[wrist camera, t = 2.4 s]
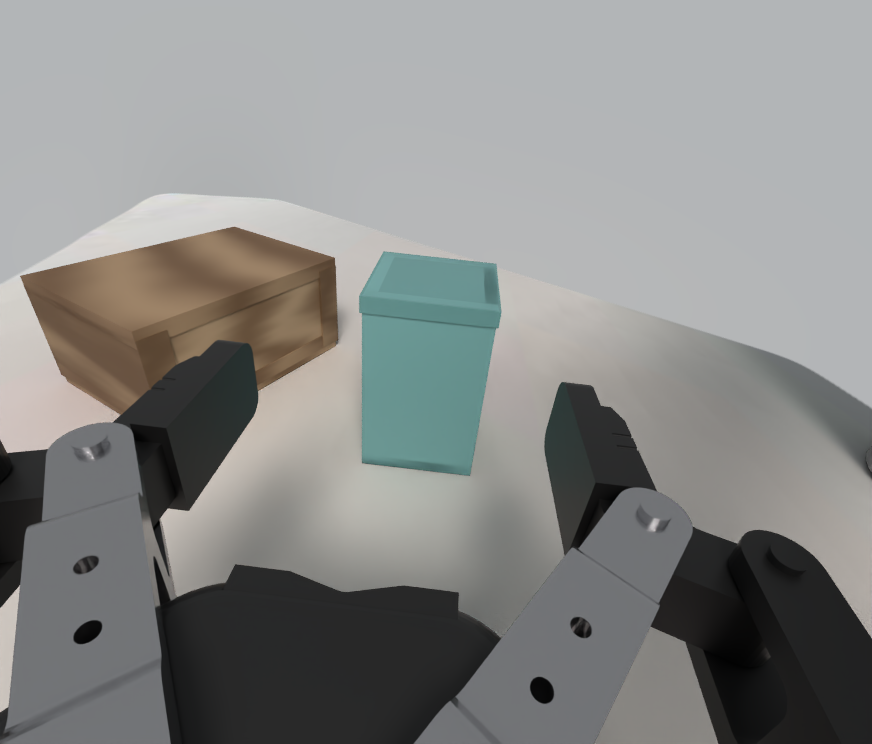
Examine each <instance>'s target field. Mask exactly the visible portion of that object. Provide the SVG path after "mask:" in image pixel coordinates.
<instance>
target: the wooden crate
mask: <svg viewBox="0 0 872 744" xmlns="http://www.w3.org/2000/svg"><path fill="white" fill-rule="evenodd" d="M20 277H21V279H22V281H23V284H24V287H25V289H26V292H27V294H28V297H29V299H30V301H31V304H32V306H33V308H34V311H35V313H36V315H37V318H38V320H39V323H40V325H41V327H42V330H43V332H44V334H45V337H46V339H47V341H48V344H49V346H50V349H51V351H52V353H53V356H54V358H55V360H56V363H57V365H58V367H59V370H60V372H61V375H63V376H65V377H66V379H67V381H68V382H69V383H71V384H73V385H74V386H76V387H77V388H79V389H81V390H82V391H84V392H85V393H87V394H89V395H90V396H92V397H93V398H95V399H97V400H98V401H100V402H101V403H103V404H105V405H106V406H108V407H109V408H111V409H113V410H114V411H116V412H117V413H119V414H121V415H122V414H123V413H124V412H125V411H126V410H127V409H128V408H129V407H130V406H131V405H132V404H134V403H135V402H136V401H137V400H138V399H139V398H140V397H141V396H142V395H143V394H144V393H146V392H147V391H148V390H151V388H152V386H153V385H154V384H155V383H157V382H158V381H159V380H162V377H163V376H164V375H165V374H166V373H167V372H169V371H170V370H171V369H172V368H173V367H174V366H175V365H177V364H179V363H181V362H183V361H185V360H187V359H189V358H191V357H194V356H200V355H201V354H202V353H204V352H205V351H206V350H207V349H208V348H209V347H210V346H211V345H212V344H213V343H214V342H215V341H217V340H226V341H234V342H242V343H248V344H250V346H251V348H252V351H253V357H254V365H255V373H256V380H257V388H258V390H260V389H262V388H263V387H265V386H267V385H269V384H270V383H272V382H274V381H275V380H277V379H279V378H281V377H282V376H284V375H286V374H288V373H289V372H291V371H293V370H294V369H296V368H298V367H300V366H301V365H303V364H305V363H307V362H308V361H310V360H312V359H313V358H315V357H317V356H319V355H320V354H322V353H324V352H326V351H327V350H329V349H331V348H332V347H334V346H336V341H337V340H338V325H337V294H336V266H335V258H334V257H330V256H327V255H324V254H321V253H317V252H314V251H311V250H308V249H304V248H301V247H298V246H295V245H292V244H288V243H285V242H282V241H279V240H275V239H272V238H269V237H266V236H263V235H259V234H256V233H253V232H250V231H246V230H243V229H240V228H237V227H231V228H226V229H222V230H218V231H213V232H209V233H205V234H200V235H196V236H192V237H187V238H183V239H178V240H174V241H170V242H165V243H161V244H157V245H152V246H148V247H144V248H139V249H135V250H131V251H126V252H122V253H118V254H113V255H109V256H105V257H100V258H96V259H92V260H87V261H83V262H79V263H74V264H70V265H66V266H61V267H57V268H53V269H48V270H44V271H40V272H35V273H31V274H27V275H22V276H20Z"/></svg>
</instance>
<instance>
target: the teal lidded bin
mask: <svg viewBox="0 0 872 744" xmlns="http://www.w3.org/2000/svg"><path fill="white" fill-rule="evenodd" d="M359 313H362V463H367V464H375V465H384V466H392V467H401V468H409V469H418V470H426V471H435V472H443V473H452V474H460V475H469V476H470V472H471V466H472V461H473V455H474V449H475V444H476V438H477V432H478V427H479V421H480V415H481V410H482V404H483V398H484V393H485V387H486V381H487V376H488V370H489V364H490V359H491V353H492V347H493V342H494V336H495V330H496V328H499V322H500V317H501V304H500V294H499V285H498V276H497V266H496V264H493V263H483V262H474V261H465V260H456V259H447V258H438V257H429V256H420V255H411V254H402V253H393V252H383V254H382V256H381V257H380V259H379V261H378V263H377V265H376V267H375V268H374V270H373V272H372V274H371V276H370V278H369V279H368V281H367V283H366V285H365V287H364V288H363V290H362V292H361V294H360V296H359Z"/></svg>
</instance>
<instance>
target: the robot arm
mask: <svg viewBox="0 0 872 744" xmlns="http://www.w3.org/2000/svg"><path fill="white" fill-rule="evenodd" d="M257 404H258V388H257V380H256V373H255V365H254V357H253V351H252V348H251V346H250V344H248V343H242V342H234V341H226V340H217V341H215V342H214V343H213V344H212V345H211V346H210V347H209V348H208V349H207V350H206V351H205V352H204V353H202V354H201V355H200V356H194V357H191V358H189V359H187V360H185V361H183V362H181V363H179V364H177V365H175V366H174V367H173V368H172V369H171V370H170V371H169V372H167V373H166V374H165V375H164V376H163V377H162V380H159V381H158V382H157V383H155V384H154V385H153V386H152V388H151V390H148V391H147V392H146V393H144V394H143V395H142V396H141V397H140V398H139V399H138V400H137V401H136V402H135V403H134V404H132V405H131V406H130V407H129V408H128V409H127V410H126V411H125V412H124V413H123V414H122V415H120V416H119V417H118V418H117V419H116V420H115V421H114V422H113V423H111V422H110V423H96V424H91V425H87V426H83V427H80V428H78V429H75V430H73V431H71V432H68V433H67V434H65V435H63V436H62V437H60V438H59V439H57V440H56V441H55V442H54V443H53V444H52V445H51V446H50V447H49V449H46V450H36V451H25V452H14V453H7V452H6V450H5V448H4V446H3V444H2V442H1V441H0V608H1V607H2V605H3V604H4V603H5V602H6V601H7V600H8V598H9V597H10V596H11V595H12V594H13V592H14V591H15V590H16V589H17V588H18V587H19V585H20V593H19V603H18V614H17V624H16V635H15V645H14V656H13V666H12V677H11V687H10V698H9V707H8V708H6V709H5V710H3V711H2V712H0V744H594V742H595V740H596V738H597V736H598V734H599V732H600V730H601V728H602V726H603V724H604V721H605V719H606V717H607V715H608V713H609V711H610V709H611V707H612V705H613V703H614V701H615V699H616V697H617V694H618V692H619V690H620V688H621V686H622V684H623V682H624V680H625V678H626V676H627V674H628V672H629V670H630V667H631V665H632V663H633V661H634V659H635V657H636V655H637V653H638V651H639V649H640V647H641V645H642V643H643V640H644V638H645V636H646V634H647V632H648V630H649V628H650V627H653V628H655V629H657V630H660V631H662V632H664V633H666V634H669V635H671V636H673V637H676V638H678V639H680V640H683V641H685V642H686V645H687V648H688V651H689V654H690V657H691V660H692V663H693V667H694V670H695V673H696V676H697V679H698V682H699V685H700V688H701V691H702V694H703V697H704V700H705V703H706V706H707V709H708V713H709V716H710V719H711V722H712V725H713V728H714V731H715V734H716V737H717V740H718V743H719V744H872V638H871V637H870V635H869V634H868V632H867V631H866V629H865V628H864V626H863V625H862V623H861V622H860V620H859V619H858V617H857V616H856V614H855V613H854V611H853V610H852V608H851V607H850V605H849V604H848V603H847V601H846V600H845V598H844V597H843V595H842V594H841V592H840V591H839V589H838V588H837V586H836V585H835V583H834V582H833V580H832V579H831V577H830V576H829V574H828V573H827V571H826V570H825V568H824V567H823V566H822V564H821V563H820V562H819V561H818V560H817V559H816V558H815V557H814V556H813V555H812V554H811V553H810V552H808V551H807V550H806V549H804V548H803V547H802V546H800V545H799V544H797V543H796V542H794V541H792V540H790V539H788V538H786V537H784V536H782V535H779V534H776V533H773V532H769V531H764V530H753V531H749V532H747V533H745V534H744V536H743V537H742V538H741V540H740V541H739V543H738V544H736V543H733V542H731V541H728V540H725V539H722V538H720V537H717V536H714V535H711V534H709V533H706V532H703V531H701V530H698V529H696V528H694V527H692V523H691V520H690V518H689V517H688V515H687V514H686V512H685V511H684V510H683V509H682V508H681V507H680V506H679V505H678V504H677V503H676V502H674V501H673V500H672V499H670V498H669V497H667V496H665V495H663V494H661V493H659V492H657V490H656V488H655V486H654V484H653V482H652V479H651V477H650V475H649V473H648V471H647V468H646V466H645V464H644V462H643V460H642V458H641V455H640V453H639V451H637V447H636V444H635V442H634V440H633V438H631V433H630V431H629V429H628V427H627V425H626V422H625V421H624V420H623V419H622V418H621V417H620V416H619V415H618V414H617V413H616V412H615V411H614V410H613V409H612V408H611V407H604V406H601V405H600V403H599V400H598V398H597V395H596V393H595V390H594V388H593V387H592V386H591V385H583V384H574V383H566V382H562V383H561V384H560V386H559V388H558V391H557V394H556V398H555V401H554V405H553V408H552V412H551V415H550V419H549V422H548V426H547V429H546V434H545V446H544V447H545V456H546V461H547V467H548V472H549V477H550V482H551V487H552V492H553V497H554V502H555V508H556V513H557V518H558V523H559V528H560V533H561V538H562V544H563V549H564V554H565V557H564V558H563V559H562V560H561V562H560V563H559V564H558V566H557V567H556V568H555V570H554V571H553V572H552V573H551V575H550V576H549V577H548V579H547V580H546V581H545V583H544V584H543V585H542V586H541V588H540V589H539V590H538V592H537V593H536V594H535V596H534V597H533V598H532V600H531V601H530V602H529V603H528V605H527V606H526V607H525V609H524V610H523V611H522V613H521V614H520V615H519V616H518V618H517V619H516V620H515V622H514V623H513V624H512V626H511V627H510V628H509V629H508V631H507V632H506V633H505V635H504V636H503V637H502V639H501V638H500V637H499V636H498V635H497V634H496V633H495V632H493V631H492V630H491V629H490V628H488V627H487V626H485V625H484V624H483V623H481V622H480V621H478V620H476V619H474V618H472V617H471V616H469V615H467V614H464V613H462V612H460V611H458V597H459V593H458V592H450V591H442V590H434V589H426V588H419V587H411V586H396V587H388V588H379V589H371V590H362V591H354V592H341V591H337V590H335V589H332V588H330V587H328V586H325V585H323V584H320V583H318V582H315V581H313V580H310V579H308V578H305V577H303V576H300V575H298V574H295V573H293V572H290V571H284V570H276V569H268V568H260V567H252V566H244V565H236V564H235V566H234V568H233V570H232V572H231V574H230V576H229V578H228V580H227V582H226V583H220V584H215V585H211V586H206V587H203V588H200V589H197V590H194V591H191V592H188V593H186V594H184V595H181V596H179V597H176V593H175V588H174V583H173V578H172V572H171V567H170V562H169V557H168V551H167V546H166V541H165V535H164V530H163V526H162V522H161V519H160V518H161V517H162V515H163V514H164V512H165V511H166V510H167V508H170V509H178V510H186V511H189V510H190V508H191V507H192V506H193V504H194V503H195V501H196V500H197V498H198V497H199V495H200V494H201V492H202V491H203V489H204V488H205V486H206V485H207V484H208V482H209V481H210V479H211V478H212V476H213V475H214V473H215V472H216V470H217V469H218V467H219V466H220V464H221V463H222V462H223V460H224V459H225V457H226V456H227V454H228V453H229V451H230V450H231V448H232V447H233V445H234V444H235V442H236V441H237V440H238V438H239V437H240V435H241V434H242V432H243V431H244V429H245V428H246V426H247V425H248V423H249V422H250V420H251V419H252V418H253V416H254V414H255V411H256V408H257ZM866 461H867V464H868V468H869V469H870V471H871V472H872V446H871V448H870V449H869V450H868V451H867V454H866Z"/></svg>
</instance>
